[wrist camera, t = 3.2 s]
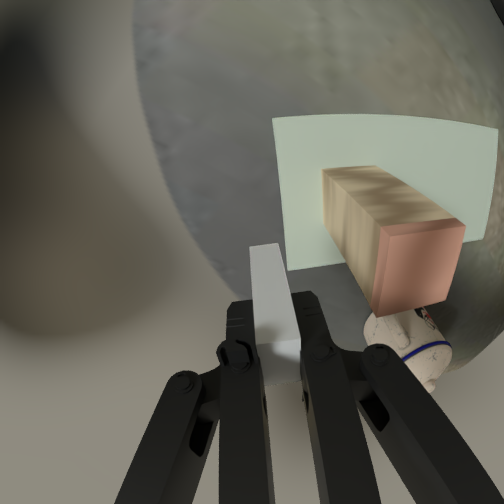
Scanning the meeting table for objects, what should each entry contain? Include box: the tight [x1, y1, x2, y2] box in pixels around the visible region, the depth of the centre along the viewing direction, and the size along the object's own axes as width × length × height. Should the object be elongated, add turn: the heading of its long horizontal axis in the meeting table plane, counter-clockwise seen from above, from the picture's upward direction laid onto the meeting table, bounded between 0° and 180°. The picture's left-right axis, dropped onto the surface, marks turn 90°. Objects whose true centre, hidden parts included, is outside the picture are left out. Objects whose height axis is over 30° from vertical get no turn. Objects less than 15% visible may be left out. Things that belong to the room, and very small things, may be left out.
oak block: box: [321, 165, 466, 318], centre depth 17 cm, size 5×5×12 cm
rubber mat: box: [272, 114, 498, 271], centre depth 23 cm, size 26×14×1 cm, turn 98°
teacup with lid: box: [364, 307, 452, 393], centre depth 26 cm, size 12×9×12 cm
